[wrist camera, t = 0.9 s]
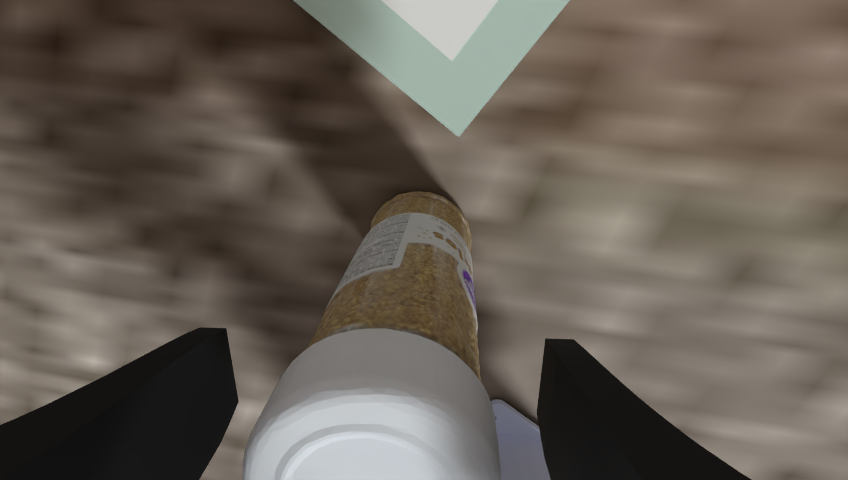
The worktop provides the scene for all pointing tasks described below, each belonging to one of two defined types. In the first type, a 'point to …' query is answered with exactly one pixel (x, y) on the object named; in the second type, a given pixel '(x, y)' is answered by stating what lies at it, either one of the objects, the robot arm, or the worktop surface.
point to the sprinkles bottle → (388, 365)
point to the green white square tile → (440, 45)
